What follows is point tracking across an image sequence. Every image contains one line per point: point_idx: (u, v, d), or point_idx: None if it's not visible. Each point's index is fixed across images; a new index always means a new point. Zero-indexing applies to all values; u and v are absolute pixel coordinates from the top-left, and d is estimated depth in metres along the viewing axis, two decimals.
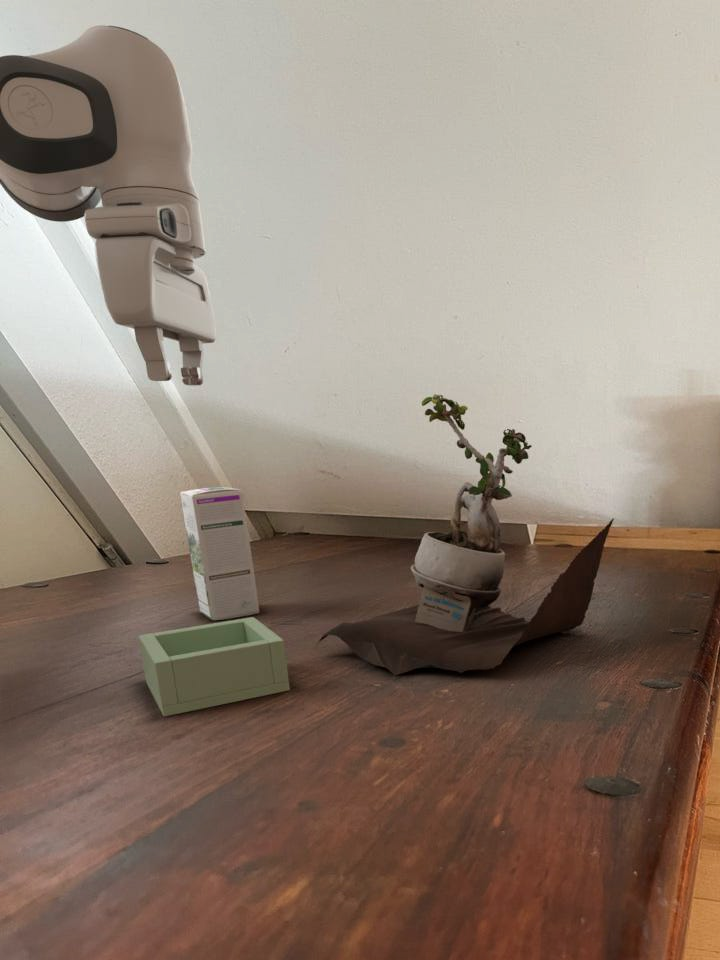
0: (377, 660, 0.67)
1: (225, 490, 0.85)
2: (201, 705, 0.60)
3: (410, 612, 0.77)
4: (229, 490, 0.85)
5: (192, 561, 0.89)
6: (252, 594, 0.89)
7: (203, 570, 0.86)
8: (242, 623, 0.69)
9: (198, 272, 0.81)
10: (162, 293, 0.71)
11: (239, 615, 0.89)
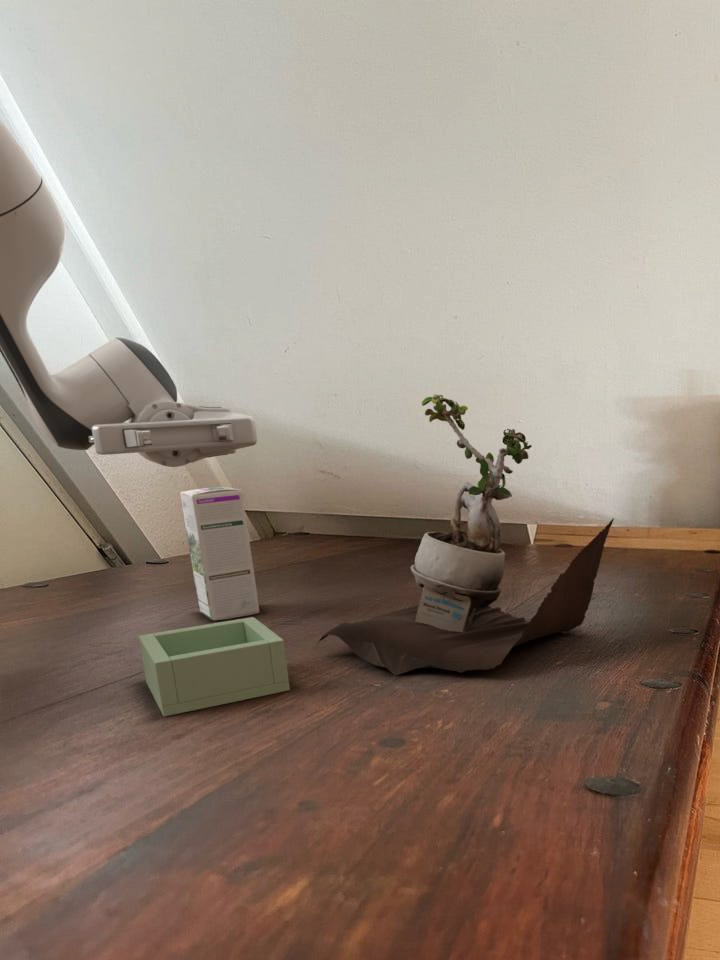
0: (377, 660, 0.67)
1: (225, 490, 0.85)
2: (201, 705, 0.60)
3: (410, 612, 0.77)
4: (229, 490, 0.85)
5: (192, 561, 0.89)
6: (252, 594, 0.89)
7: (203, 570, 0.86)
8: (242, 623, 0.69)
9: None
10: None
11: (239, 615, 0.89)
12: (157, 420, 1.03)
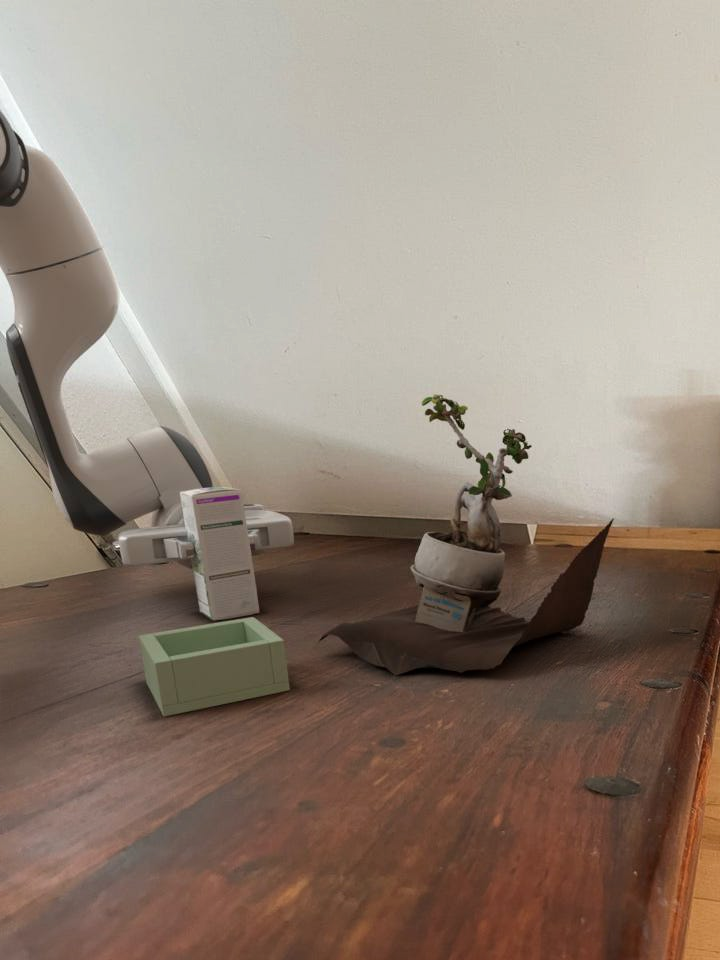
0: (377, 660, 0.67)
1: (225, 490, 0.85)
2: (201, 705, 0.60)
3: (410, 612, 0.77)
4: (229, 490, 0.85)
5: (192, 561, 0.89)
6: (252, 594, 0.89)
7: (203, 570, 0.86)
8: (242, 623, 0.69)
9: None
10: None
11: (239, 615, 0.89)
12: None
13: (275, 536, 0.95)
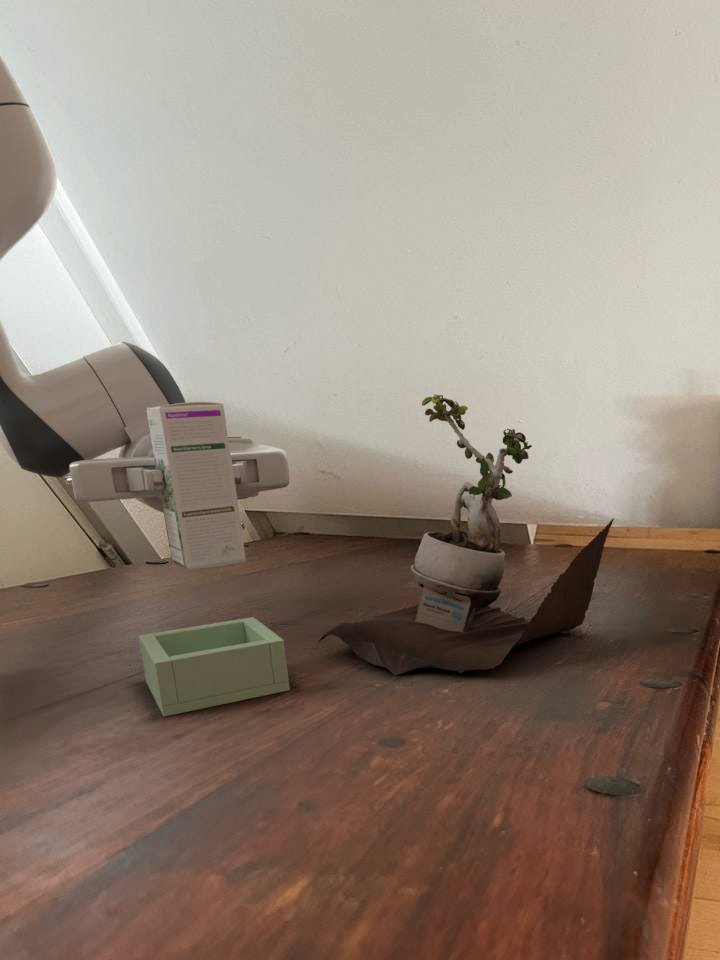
0: (377, 660, 0.67)
1: (202, 403, 0.68)
2: (201, 705, 0.60)
3: (410, 612, 0.77)
4: (207, 403, 0.68)
5: (162, 496, 0.71)
6: (237, 537, 0.72)
7: (174, 504, 0.68)
8: (242, 623, 0.69)
9: None
10: None
11: (220, 563, 0.71)
12: None
13: (266, 471, 0.78)
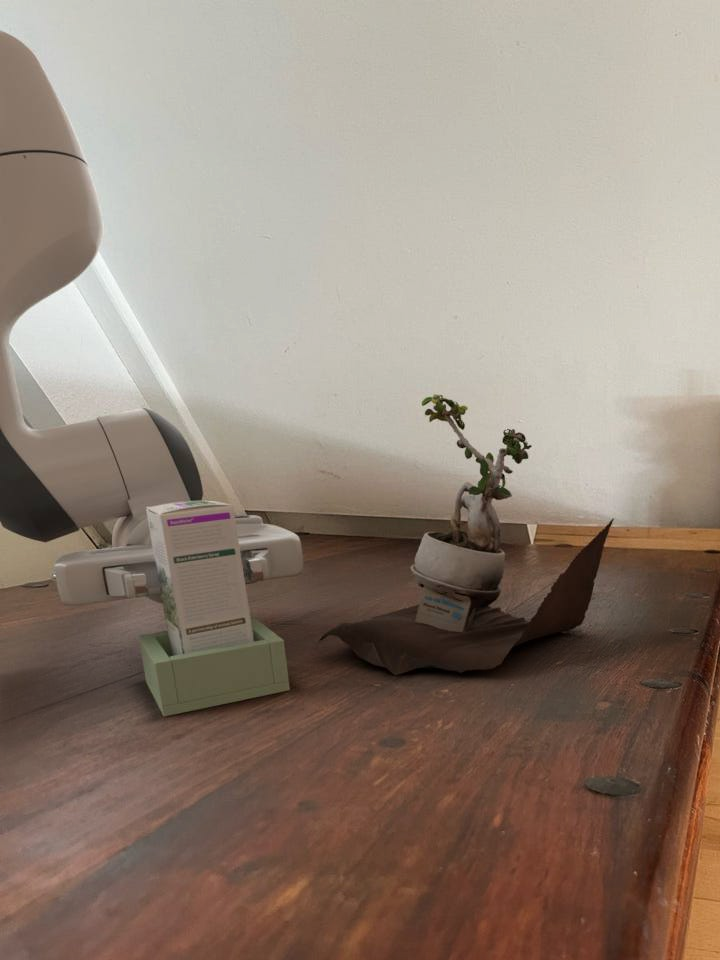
0: (377, 660, 0.67)
1: (209, 506, 0.59)
2: (201, 705, 0.60)
3: (410, 612, 0.77)
4: (215, 506, 0.59)
5: (164, 605, 0.63)
6: None
7: (177, 620, 0.60)
8: None
9: None
10: None
11: None
12: None
13: (278, 561, 0.69)
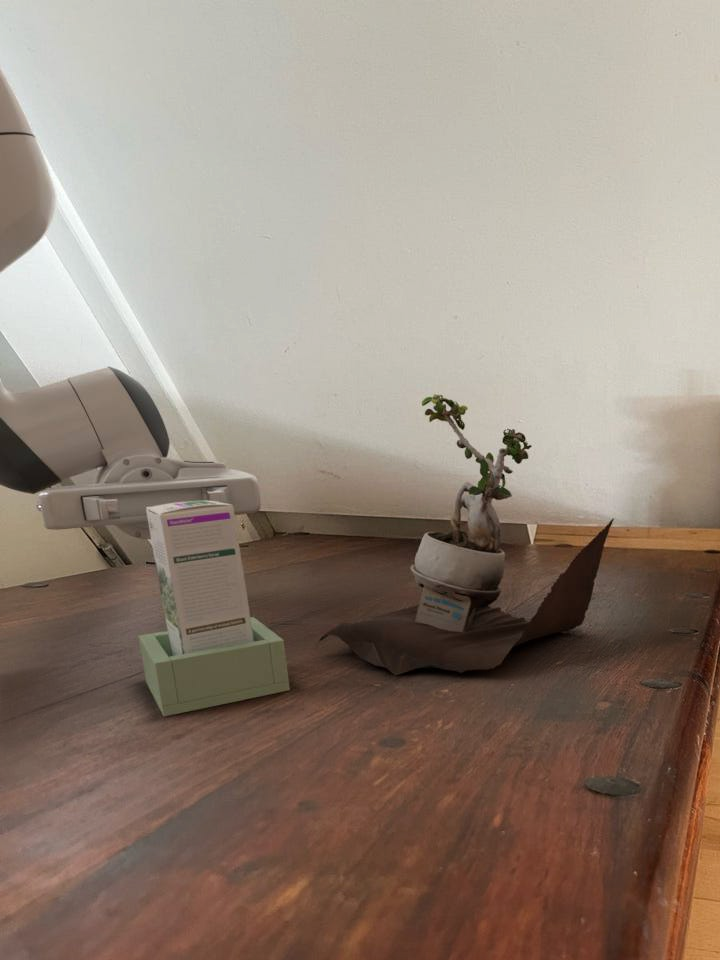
0: (377, 660, 0.67)
1: (209, 506, 0.59)
2: (201, 705, 0.60)
3: (410, 612, 0.77)
4: (215, 506, 0.59)
5: (164, 605, 0.63)
6: None
7: (177, 620, 0.60)
8: None
9: None
10: None
11: None
12: (129, 480, 0.79)
13: (237, 497, 0.79)
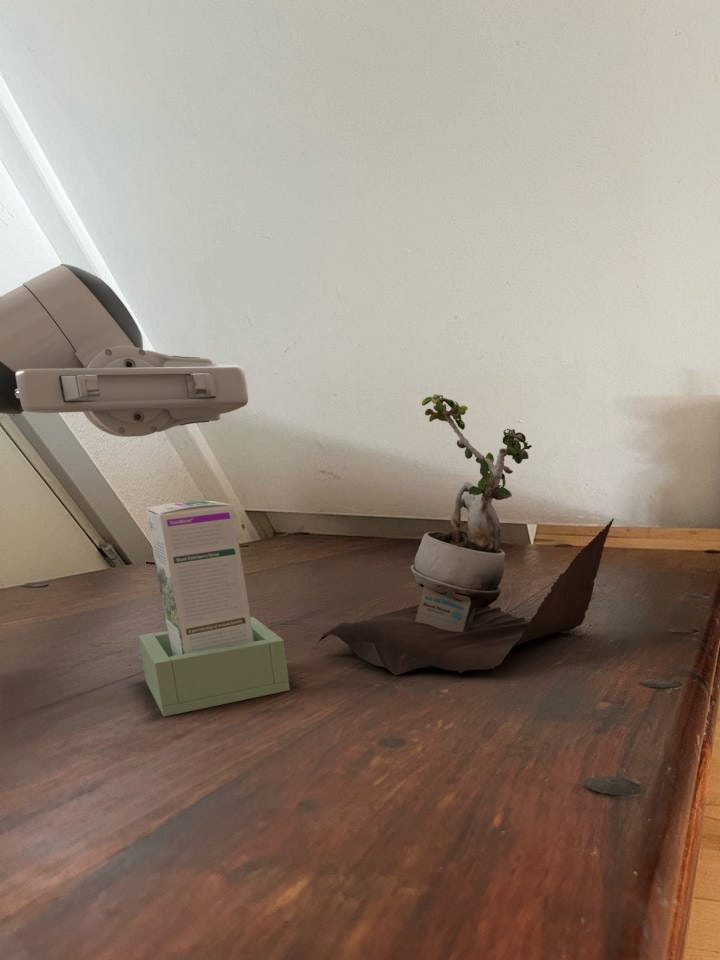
0: (377, 660, 0.67)
1: (209, 506, 0.59)
2: (201, 705, 0.60)
3: (410, 612, 0.77)
4: (215, 506, 0.59)
5: (163, 605, 0.63)
6: None
7: (177, 620, 0.60)
8: None
9: None
10: None
11: None
12: None
13: (223, 387, 0.76)
